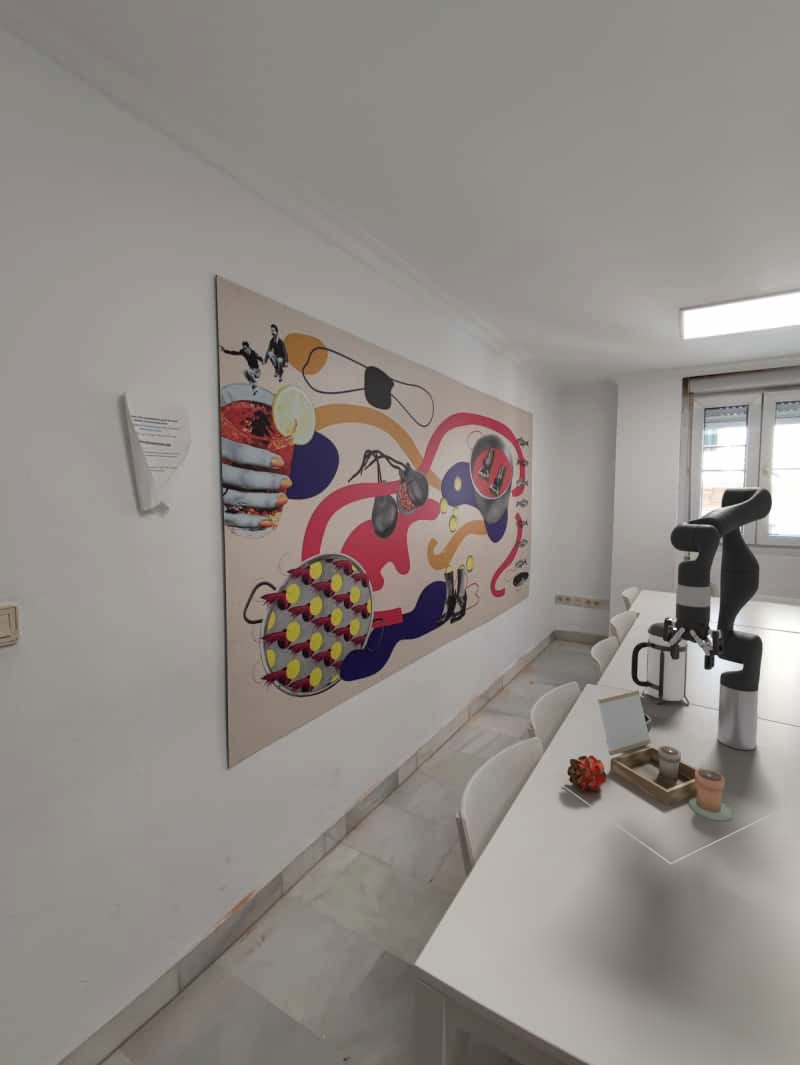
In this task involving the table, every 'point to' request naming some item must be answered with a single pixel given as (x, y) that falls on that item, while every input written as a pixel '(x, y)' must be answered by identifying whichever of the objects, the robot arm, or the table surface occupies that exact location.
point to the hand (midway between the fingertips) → (691, 664)
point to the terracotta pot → (709, 789)
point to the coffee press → (662, 667)
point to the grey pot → (669, 762)
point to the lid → (624, 722)
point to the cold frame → (654, 775)
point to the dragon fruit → (587, 773)
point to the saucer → (720, 816)
